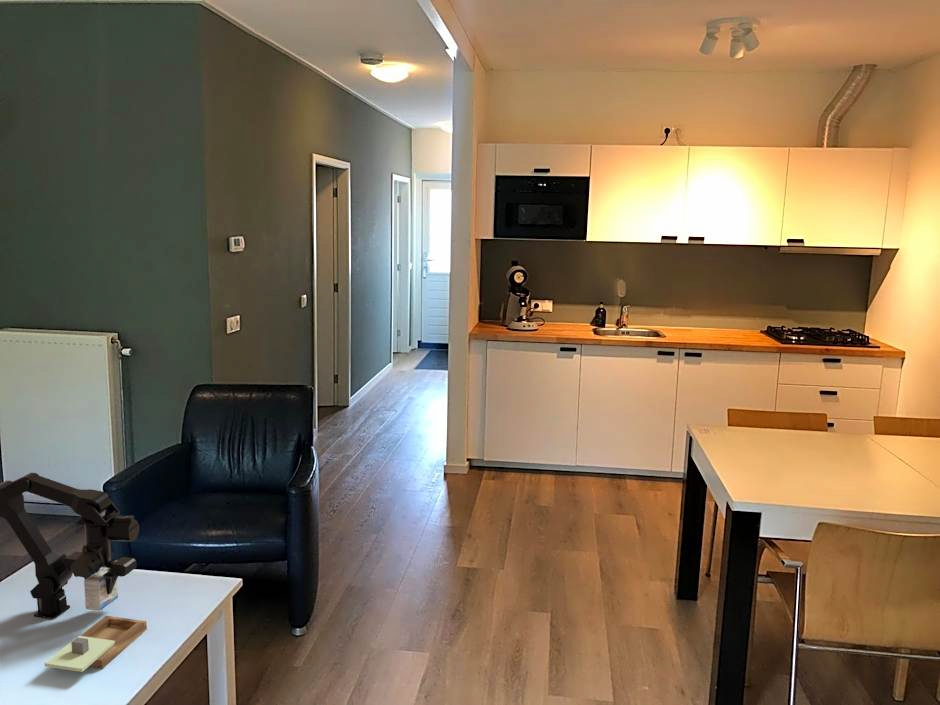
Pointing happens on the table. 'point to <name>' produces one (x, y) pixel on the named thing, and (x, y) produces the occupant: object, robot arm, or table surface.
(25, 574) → the table surface
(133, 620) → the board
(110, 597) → the medicine box
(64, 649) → the cover
